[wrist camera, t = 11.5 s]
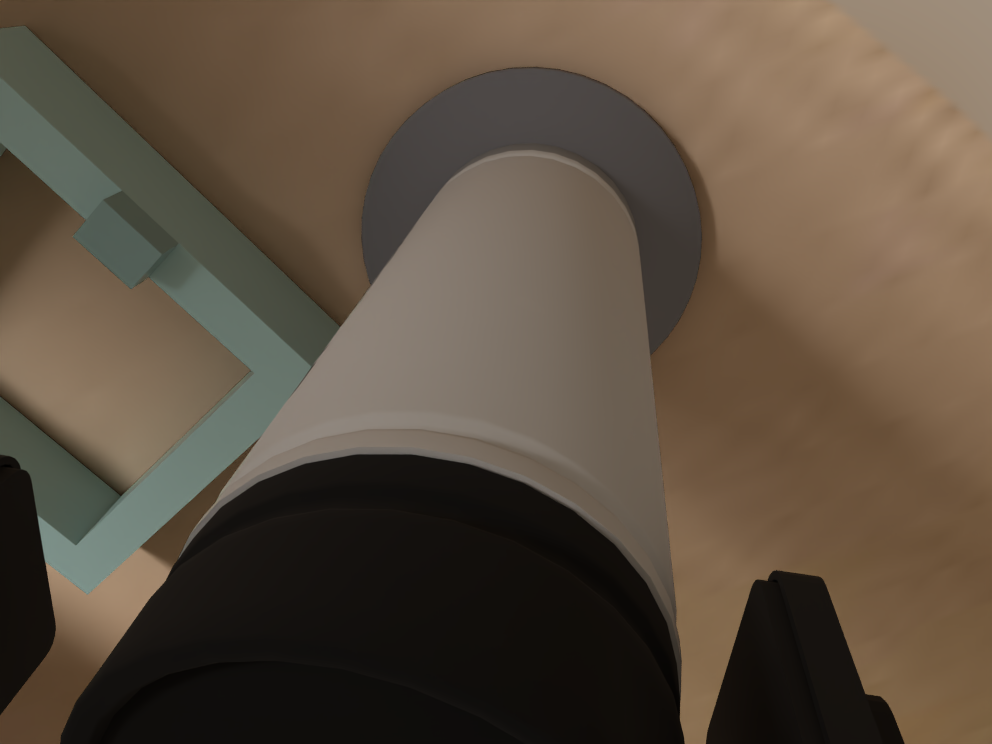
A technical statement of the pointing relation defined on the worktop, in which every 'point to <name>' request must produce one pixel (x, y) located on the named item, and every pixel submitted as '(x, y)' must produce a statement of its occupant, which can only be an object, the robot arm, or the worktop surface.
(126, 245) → the dock collar
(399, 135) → the pad
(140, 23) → the worktop surface
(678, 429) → the worktop surface
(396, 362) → the travel mug
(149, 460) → the worktop surface
